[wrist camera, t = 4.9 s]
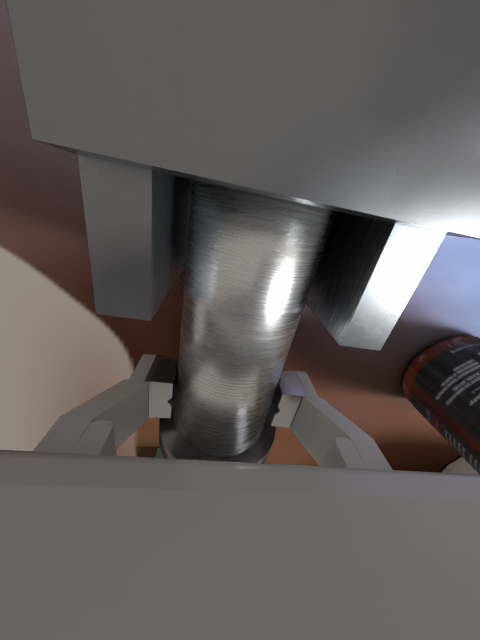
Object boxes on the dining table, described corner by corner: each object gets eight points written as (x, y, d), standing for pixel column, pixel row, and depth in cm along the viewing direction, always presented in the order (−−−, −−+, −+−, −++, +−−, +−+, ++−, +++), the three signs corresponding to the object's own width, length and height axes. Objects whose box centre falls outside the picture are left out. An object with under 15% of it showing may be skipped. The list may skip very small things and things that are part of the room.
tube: (202, -91, 6) (101, -1444, 1) (387, -19, 6) (824, -616, 2) (169, 422, 14) (143, 528, 9) (250, 427, 15) (262, 529, 10)
